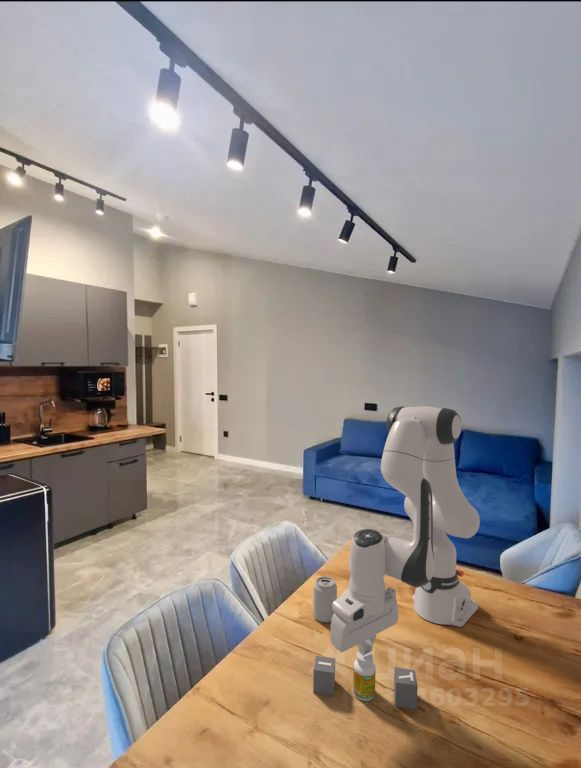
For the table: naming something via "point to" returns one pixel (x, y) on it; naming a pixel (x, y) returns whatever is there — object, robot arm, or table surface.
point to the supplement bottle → (364, 677)
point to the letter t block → (405, 688)
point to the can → (324, 598)
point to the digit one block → (324, 675)
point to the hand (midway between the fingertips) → (365, 652)
